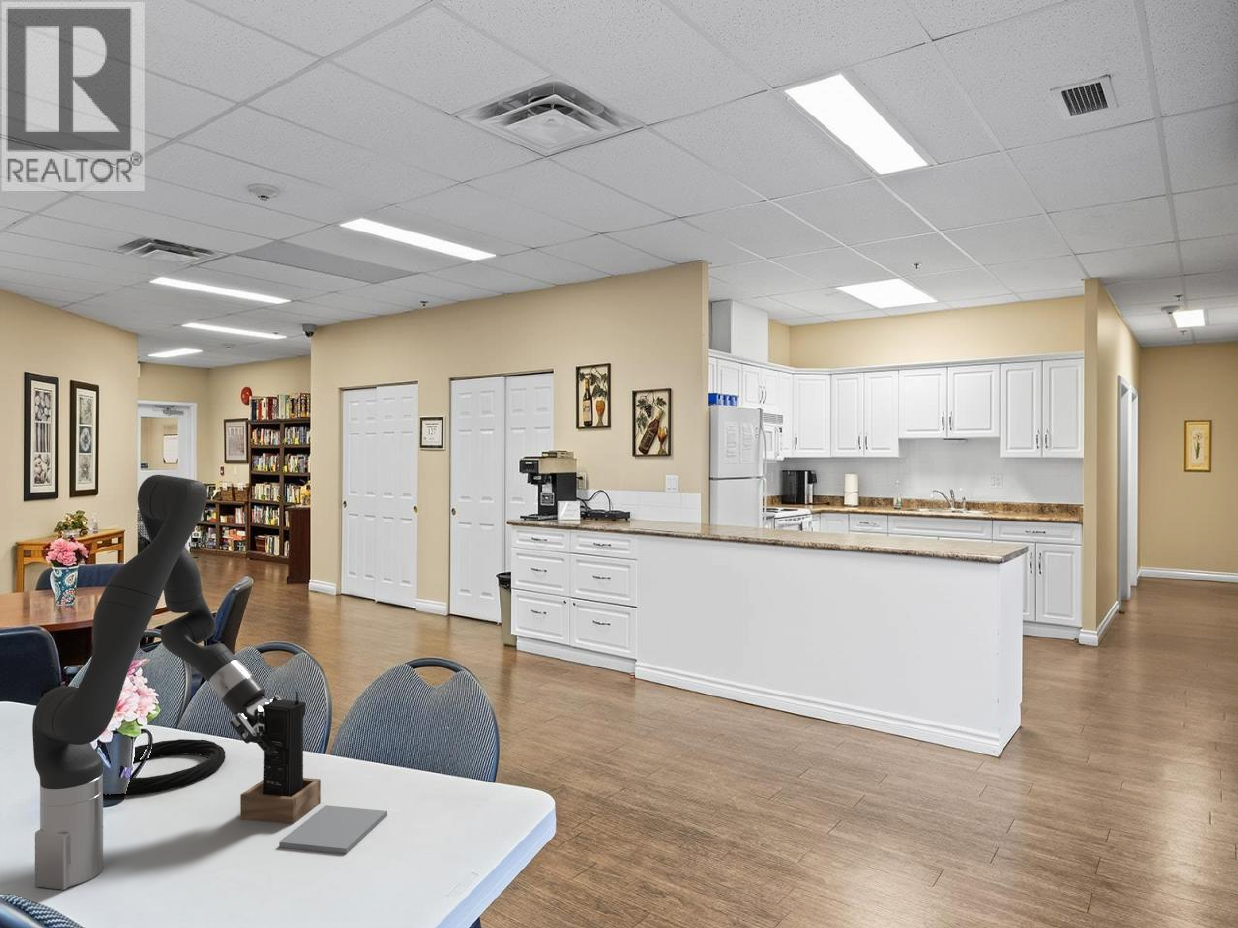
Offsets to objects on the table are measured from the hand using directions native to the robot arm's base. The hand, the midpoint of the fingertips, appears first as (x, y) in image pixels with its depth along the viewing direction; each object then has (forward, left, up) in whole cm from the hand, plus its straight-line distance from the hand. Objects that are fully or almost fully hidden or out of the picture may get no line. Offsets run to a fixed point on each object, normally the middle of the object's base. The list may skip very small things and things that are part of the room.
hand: (285, 744), depth 164 cm
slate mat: (-6, -15, -14) cm, 21 cm away
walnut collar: (0, +1, -14) cm, 14 cm away
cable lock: (+12, +42, -15) cm, 46 cm away
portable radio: (0, +1, -14) cm, 14 cm away
